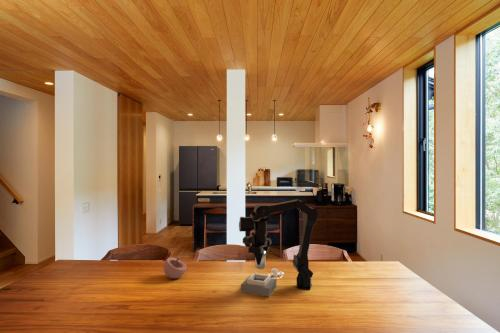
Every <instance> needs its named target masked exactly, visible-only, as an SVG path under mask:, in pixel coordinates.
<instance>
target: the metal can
mask: <svg viewBox="0 0 500 333" xmlns="http://www.w3.org/2000/svg"><path fill="white" fill-rule="evenodd" d="M263 251H264V254H263V257H262V260H261V263H260V265H257V261H256V258H254V260H255V261H254V264H255V266H254V267H255V269H258V270H264V269H266V263H267V262H266V255H267V253H266V250H263Z"/></svg>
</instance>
